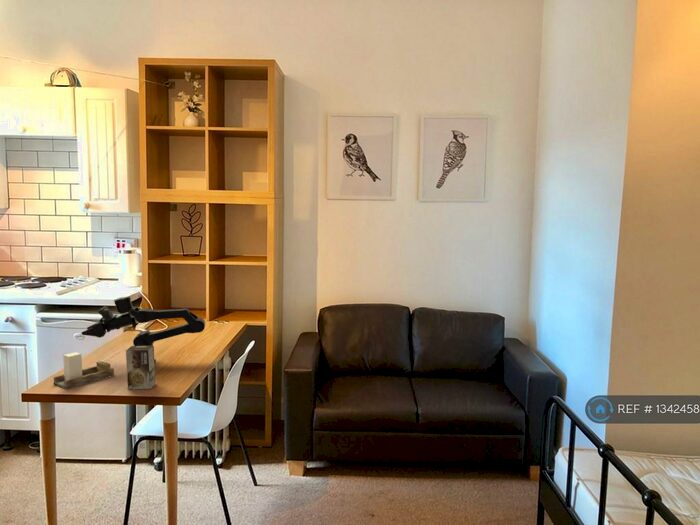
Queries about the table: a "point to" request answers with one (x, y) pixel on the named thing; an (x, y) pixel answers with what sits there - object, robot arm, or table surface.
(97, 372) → the track
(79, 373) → the block
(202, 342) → the table surface
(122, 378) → the table surface
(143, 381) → the coffee box
